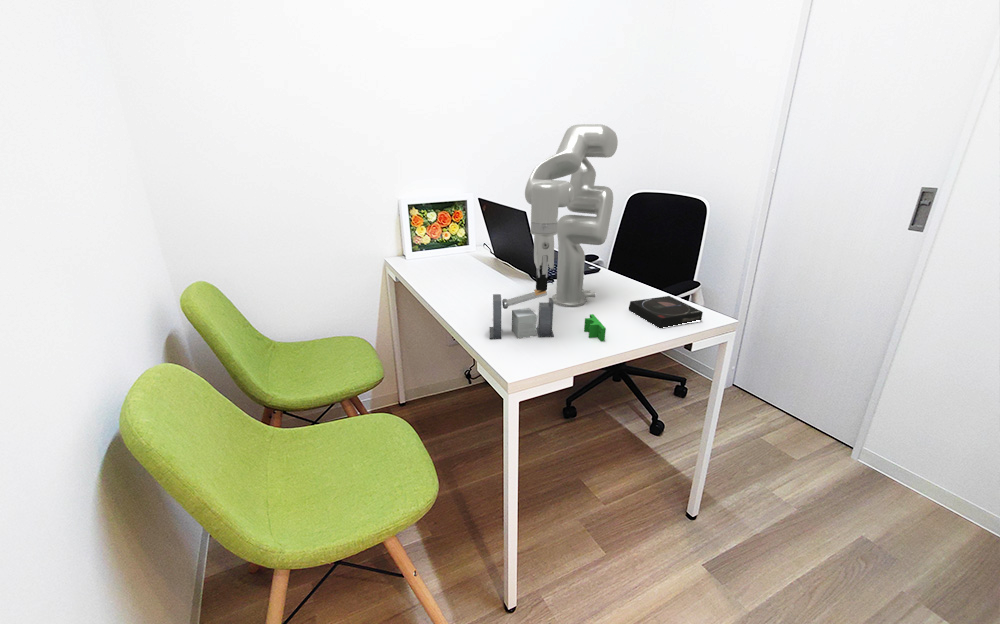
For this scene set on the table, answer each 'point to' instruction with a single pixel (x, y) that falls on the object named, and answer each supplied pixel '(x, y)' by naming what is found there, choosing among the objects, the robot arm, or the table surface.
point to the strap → (523, 298)
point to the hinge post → (496, 318)
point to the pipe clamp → (594, 328)
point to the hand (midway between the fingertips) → (541, 289)
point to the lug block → (545, 319)
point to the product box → (523, 322)
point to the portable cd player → (665, 311)
